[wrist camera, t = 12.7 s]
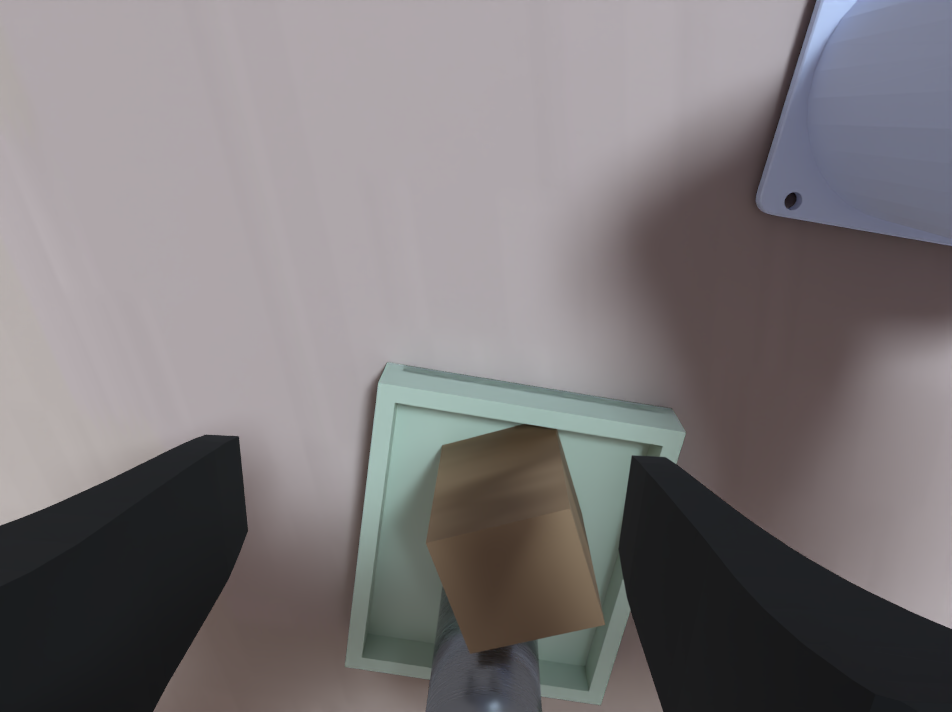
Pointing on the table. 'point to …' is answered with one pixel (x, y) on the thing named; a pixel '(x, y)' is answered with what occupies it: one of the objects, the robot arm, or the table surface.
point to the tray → (411, 496)
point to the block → (511, 539)
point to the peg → (481, 673)
